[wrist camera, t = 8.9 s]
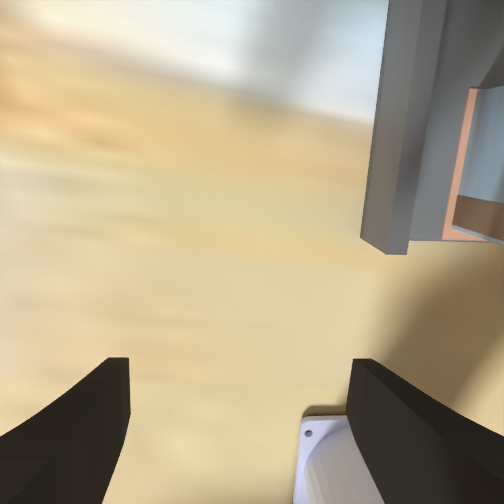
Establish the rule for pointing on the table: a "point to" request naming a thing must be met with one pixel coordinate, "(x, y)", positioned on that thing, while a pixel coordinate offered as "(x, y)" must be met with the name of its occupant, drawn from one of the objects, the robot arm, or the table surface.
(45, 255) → the table surface
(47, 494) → the robot arm
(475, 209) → the blue block
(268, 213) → the table surface
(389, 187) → the tray
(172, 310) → the table surface
